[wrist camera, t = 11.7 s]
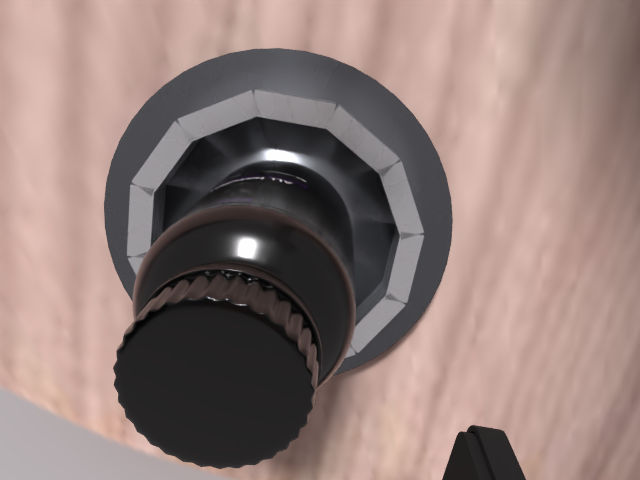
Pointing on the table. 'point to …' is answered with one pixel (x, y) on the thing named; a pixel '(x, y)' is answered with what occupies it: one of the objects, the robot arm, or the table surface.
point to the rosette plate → (299, 147)
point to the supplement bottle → (240, 317)
